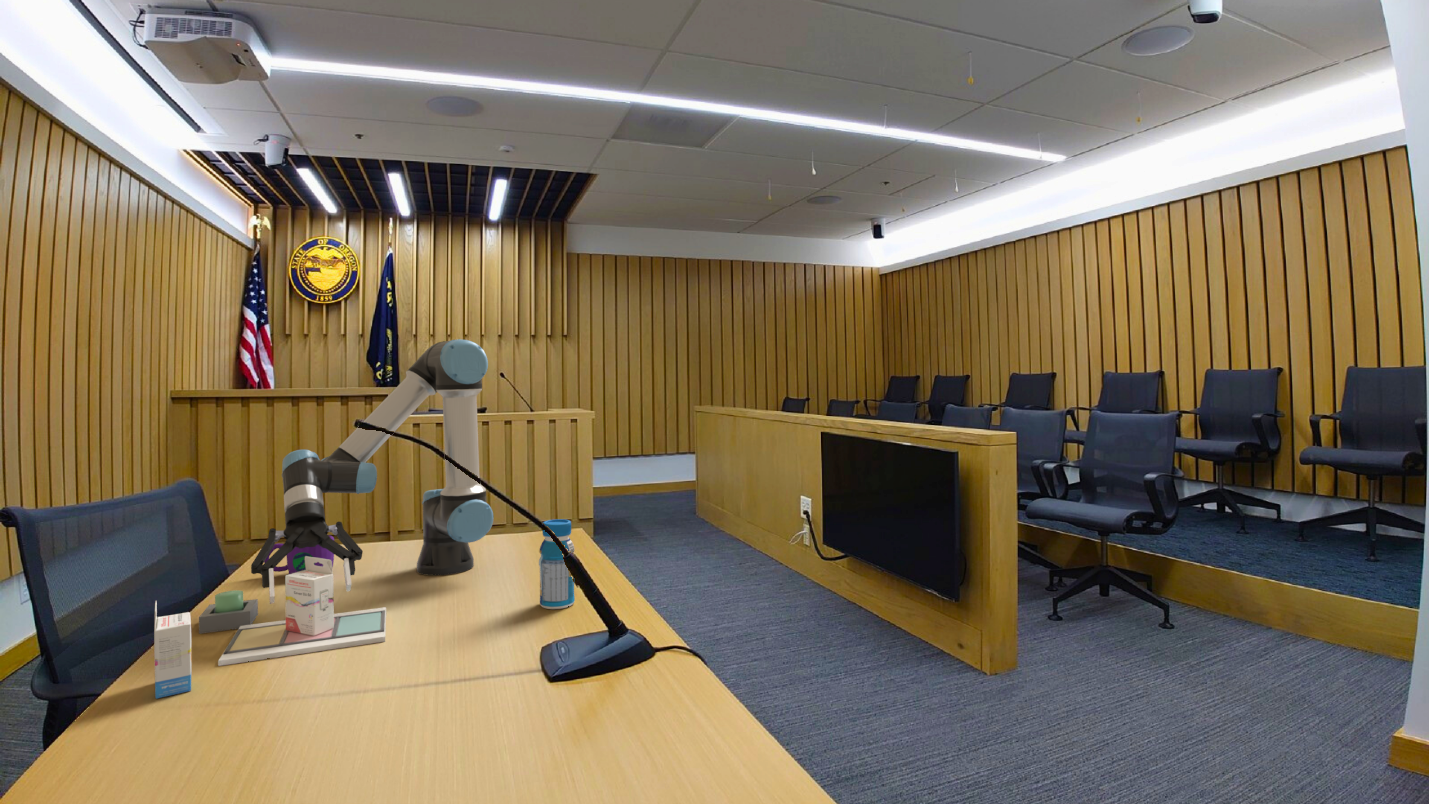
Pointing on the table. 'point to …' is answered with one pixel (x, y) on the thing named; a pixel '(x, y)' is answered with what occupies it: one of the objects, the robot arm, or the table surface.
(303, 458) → the robot arm
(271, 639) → the colored panel board
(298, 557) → the mug
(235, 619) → the button housing
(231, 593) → the button
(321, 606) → the ink cartridge box
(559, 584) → the beverage bottle
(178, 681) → the ink box
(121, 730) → the table surface
